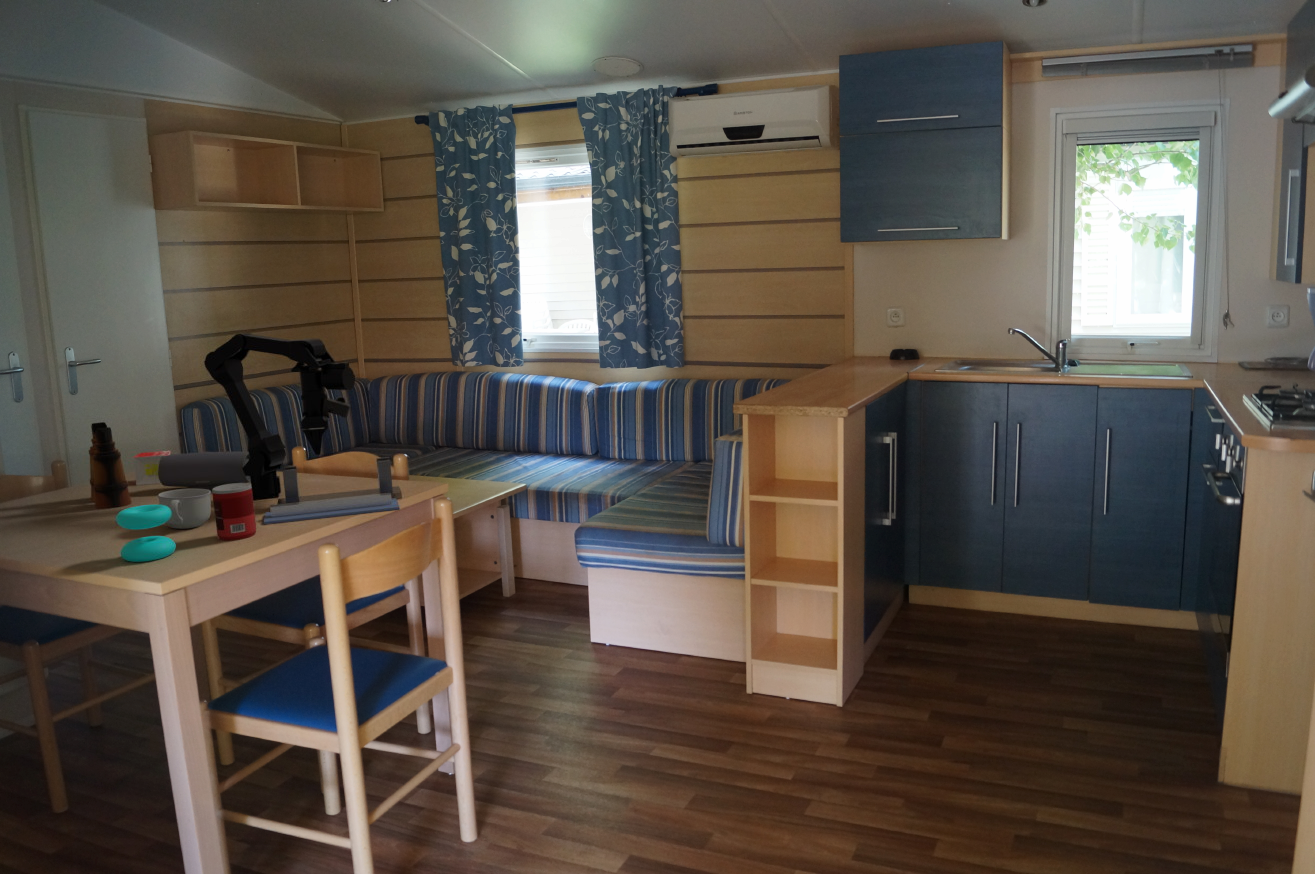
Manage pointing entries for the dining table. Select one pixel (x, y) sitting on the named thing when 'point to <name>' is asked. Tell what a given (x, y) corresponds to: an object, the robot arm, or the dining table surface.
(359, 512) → the mat
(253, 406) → the robot arm
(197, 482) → the bluetooth speaker
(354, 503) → the rail
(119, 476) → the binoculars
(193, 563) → the dining table surface
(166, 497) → the teacup
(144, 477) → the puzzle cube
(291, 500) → the stand
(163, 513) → the donuts
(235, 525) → the canned food
